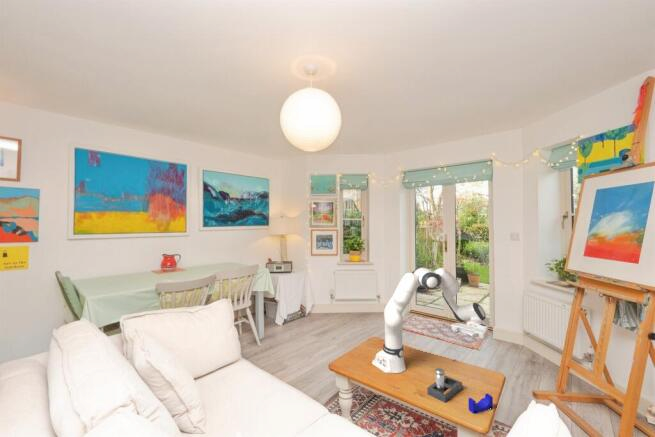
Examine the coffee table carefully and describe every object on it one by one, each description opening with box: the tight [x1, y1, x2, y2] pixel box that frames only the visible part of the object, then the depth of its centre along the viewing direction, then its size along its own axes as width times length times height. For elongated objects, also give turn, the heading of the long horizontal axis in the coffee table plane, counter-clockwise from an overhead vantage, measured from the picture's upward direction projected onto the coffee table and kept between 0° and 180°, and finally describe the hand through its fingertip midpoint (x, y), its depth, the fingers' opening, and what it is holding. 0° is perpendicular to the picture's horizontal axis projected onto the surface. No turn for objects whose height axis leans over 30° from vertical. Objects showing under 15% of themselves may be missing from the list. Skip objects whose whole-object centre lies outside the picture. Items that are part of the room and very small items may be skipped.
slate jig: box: [426, 375, 463, 403], centre depth 160 cm, size 10×19×4 cm, turn 130°
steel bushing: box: [434, 367, 446, 393], centre depth 157 cm, size 5×5×13 cm
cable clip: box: [468, 393, 494, 415], centre depth 145 cm, size 12×4×6 cm, turn 107°
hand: (463, 333), depth 173 cm, fingers open, 8 cm apart
